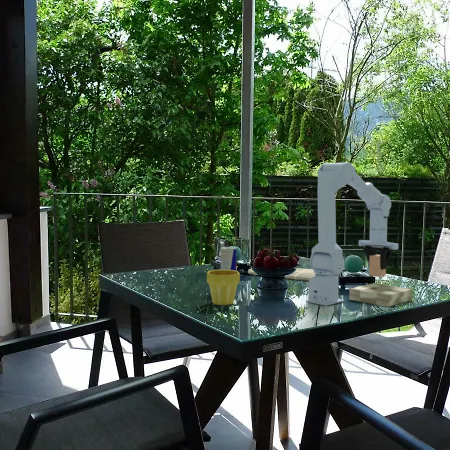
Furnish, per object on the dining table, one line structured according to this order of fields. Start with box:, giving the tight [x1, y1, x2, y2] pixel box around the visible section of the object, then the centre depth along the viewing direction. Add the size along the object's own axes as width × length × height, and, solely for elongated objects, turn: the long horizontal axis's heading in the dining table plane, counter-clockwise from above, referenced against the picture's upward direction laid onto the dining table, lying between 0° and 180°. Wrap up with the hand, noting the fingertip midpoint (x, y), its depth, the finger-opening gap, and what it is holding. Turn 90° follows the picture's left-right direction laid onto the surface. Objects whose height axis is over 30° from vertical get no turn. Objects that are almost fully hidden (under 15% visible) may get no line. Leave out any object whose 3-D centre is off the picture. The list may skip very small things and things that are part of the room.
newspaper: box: [248, 267, 316, 282], centre depth 229 cm, size 37×19×3 cm, turn 56°
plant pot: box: [206, 269, 241, 306], centre depth 175 cm, size 10×10×10 cm
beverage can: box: [220, 246, 238, 271], centre depth 196 cm, size 6×6×15 cm
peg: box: [368, 254, 387, 278], centre depth 194 cm, size 4×4×7 cm
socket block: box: [348, 283, 413, 308], centre depth 179 cm, size 14×14×4 cm
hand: (377, 268), depth 194 cm, fingers closed on peg, 4 cm apart
